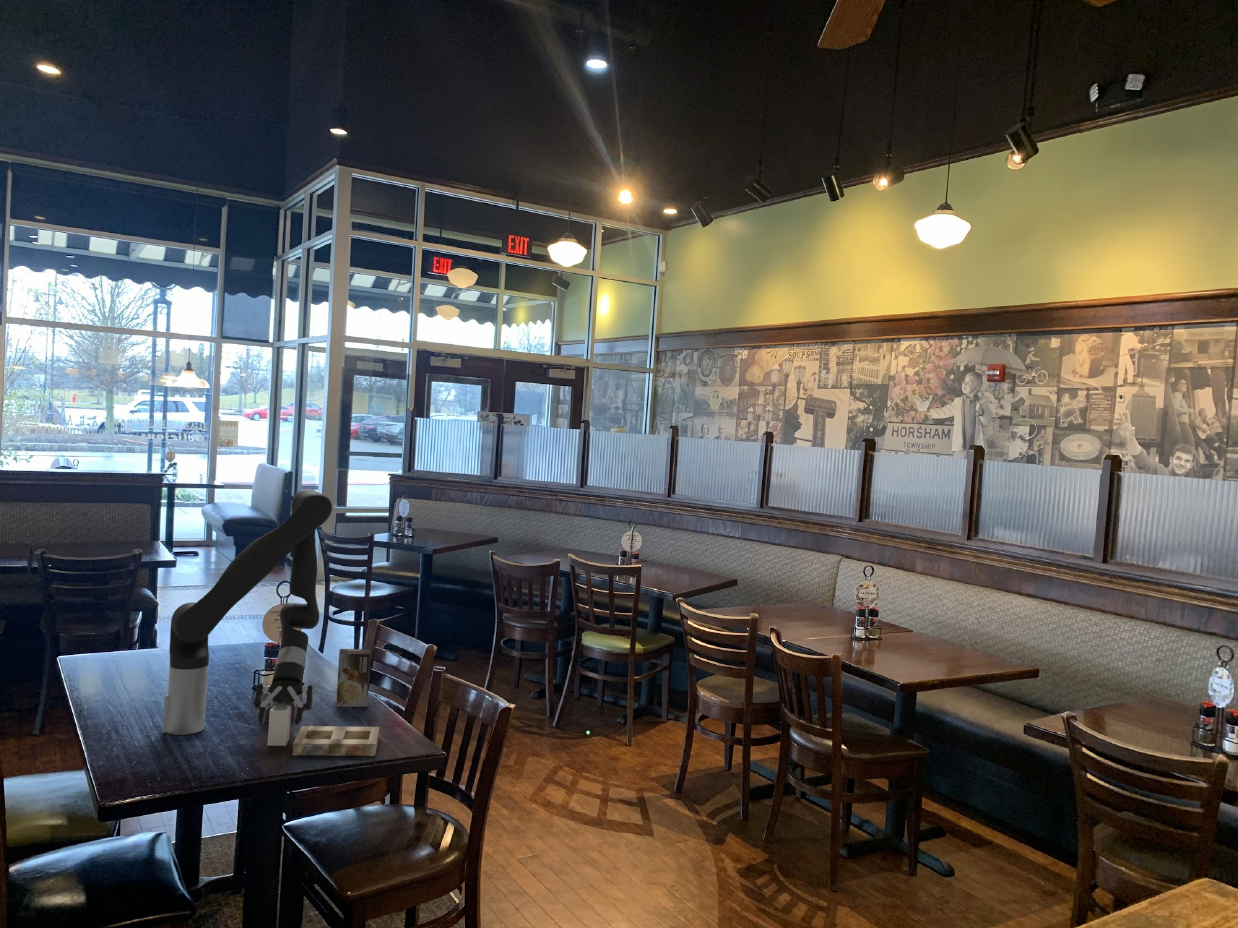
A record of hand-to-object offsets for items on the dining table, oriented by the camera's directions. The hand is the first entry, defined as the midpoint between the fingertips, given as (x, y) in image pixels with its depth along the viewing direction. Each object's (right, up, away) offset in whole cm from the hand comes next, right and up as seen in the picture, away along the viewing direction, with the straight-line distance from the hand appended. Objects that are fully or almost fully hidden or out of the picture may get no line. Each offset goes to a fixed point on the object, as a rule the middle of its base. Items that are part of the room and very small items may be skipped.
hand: (279, 723), depth 224 cm
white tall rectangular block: (-1, -5, +1) cm, 5 cm away
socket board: (+14, -7, +2) cm, 16 cm away
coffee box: (+7, -5, +36) cm, 38 cm away
